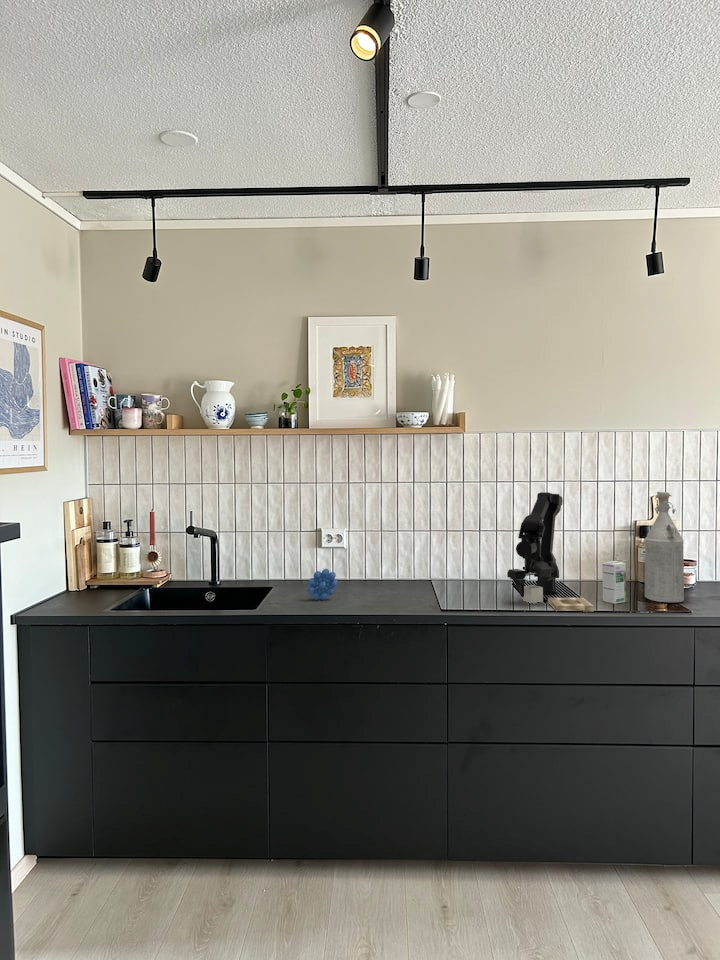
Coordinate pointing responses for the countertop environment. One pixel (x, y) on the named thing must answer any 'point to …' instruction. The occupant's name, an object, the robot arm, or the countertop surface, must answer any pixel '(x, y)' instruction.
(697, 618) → the countertop surface
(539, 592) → the cream block
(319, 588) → the grapes
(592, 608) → the socket block
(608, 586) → the syrup box
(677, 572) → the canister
